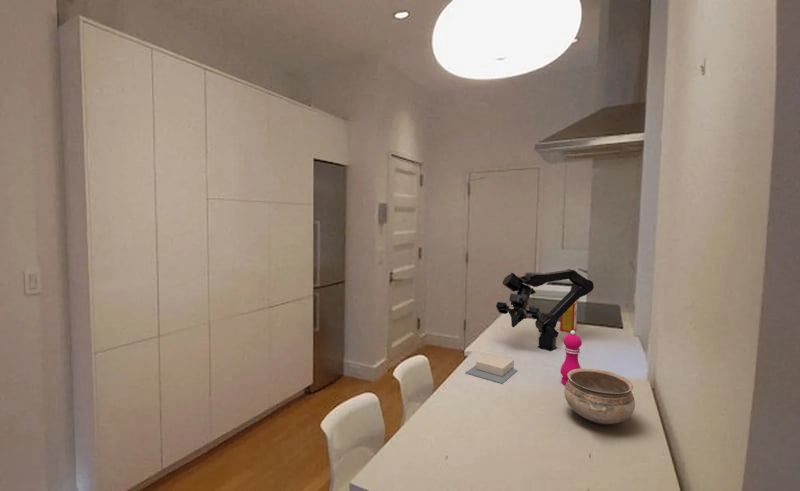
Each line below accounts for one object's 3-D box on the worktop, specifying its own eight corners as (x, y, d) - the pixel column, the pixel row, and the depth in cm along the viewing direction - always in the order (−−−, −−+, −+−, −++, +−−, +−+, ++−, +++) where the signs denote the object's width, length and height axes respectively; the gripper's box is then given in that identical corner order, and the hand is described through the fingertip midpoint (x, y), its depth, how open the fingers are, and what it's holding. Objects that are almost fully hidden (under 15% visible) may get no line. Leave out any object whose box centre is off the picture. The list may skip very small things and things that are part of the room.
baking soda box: (573, 333, 201) (574, 303, 199) (559, 331, 204) (561, 301, 203) (576, 328, 209) (577, 299, 207) (563, 326, 212) (564, 298, 211)
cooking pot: (637, 450, 101) (640, 405, 100) (560, 431, 110) (562, 390, 109) (630, 407, 124) (632, 370, 123) (566, 394, 132) (567, 360, 131)
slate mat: (482, 361, 161) (482, 360, 161) (517, 370, 152) (517, 369, 152) (465, 373, 149) (465, 372, 149) (502, 384, 140) (502, 382, 140)
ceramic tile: (488, 353, 160) (476, 361, 152) (513, 359, 154) (502, 368, 145) (488, 361, 161) (476, 369, 152) (513, 367, 154) (502, 376, 145)
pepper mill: (581, 381, 142) (584, 329, 141) (581, 390, 136) (584, 334, 134) (560, 378, 145) (562, 326, 144) (559, 386, 139) (561, 331, 137)
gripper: (498, 284, 174) (487, 313, 166) (540, 289, 163) (530, 320, 155) (504, 298, 181) (494, 326, 173) (545, 303, 170) (536, 334, 162)
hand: (512, 326), depth 165 cm, fingers closed
